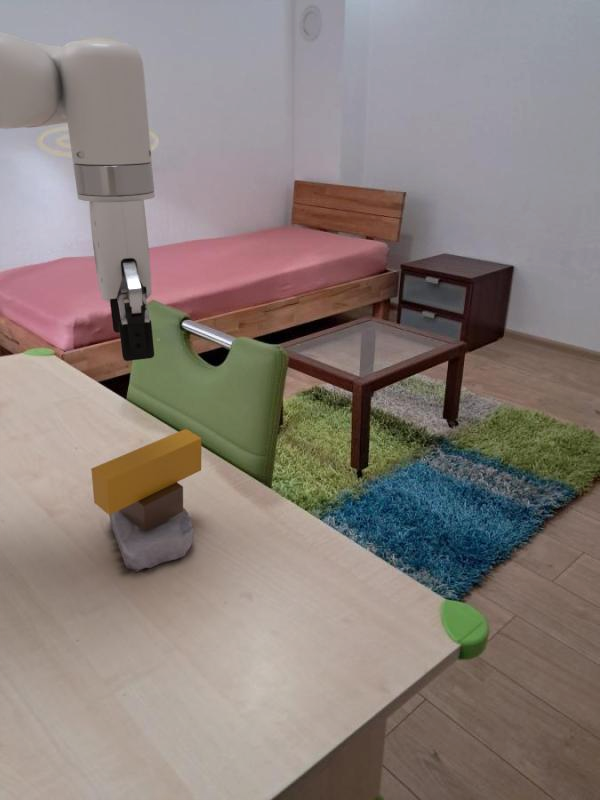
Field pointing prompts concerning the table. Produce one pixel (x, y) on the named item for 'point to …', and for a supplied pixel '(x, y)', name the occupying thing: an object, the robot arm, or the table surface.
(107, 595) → the table surface
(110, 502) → the bar
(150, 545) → the stone block
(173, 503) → the walnut block
